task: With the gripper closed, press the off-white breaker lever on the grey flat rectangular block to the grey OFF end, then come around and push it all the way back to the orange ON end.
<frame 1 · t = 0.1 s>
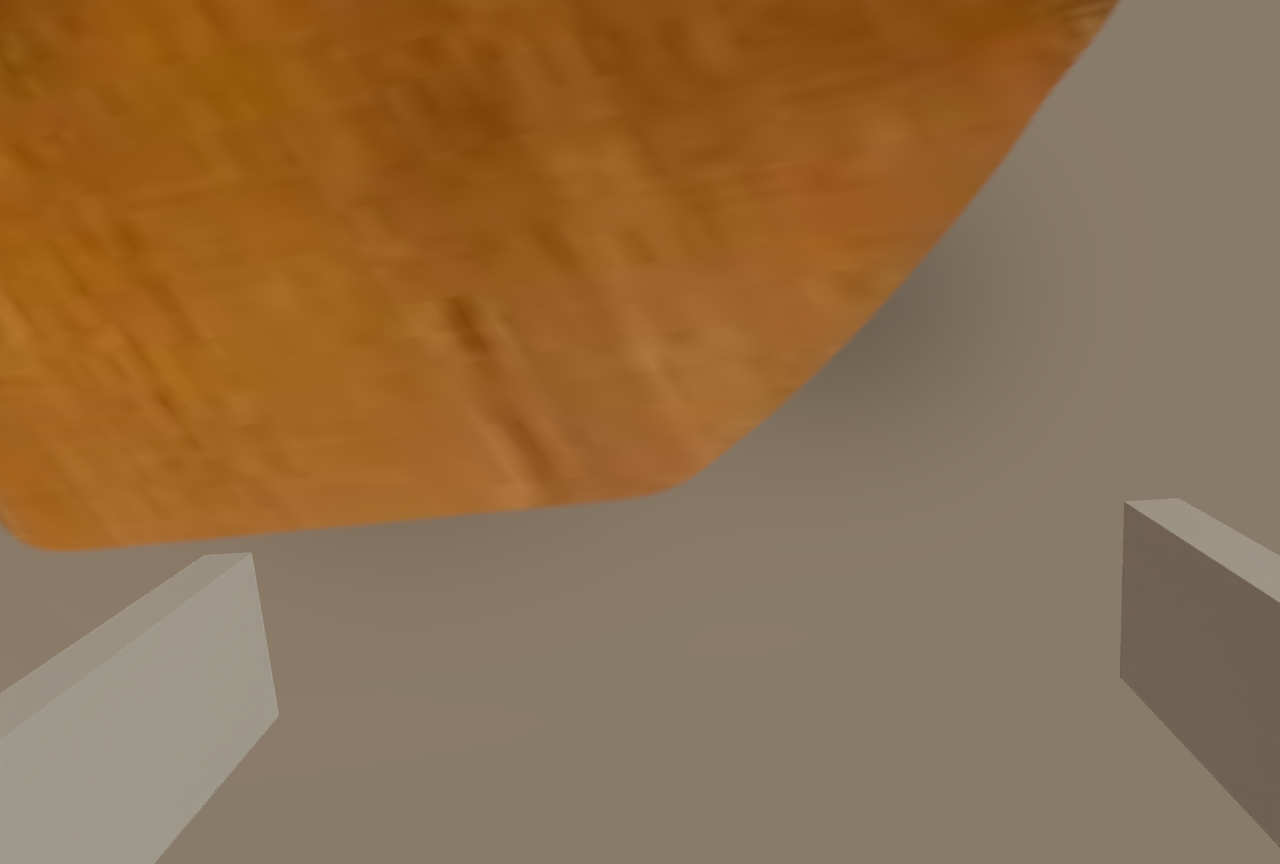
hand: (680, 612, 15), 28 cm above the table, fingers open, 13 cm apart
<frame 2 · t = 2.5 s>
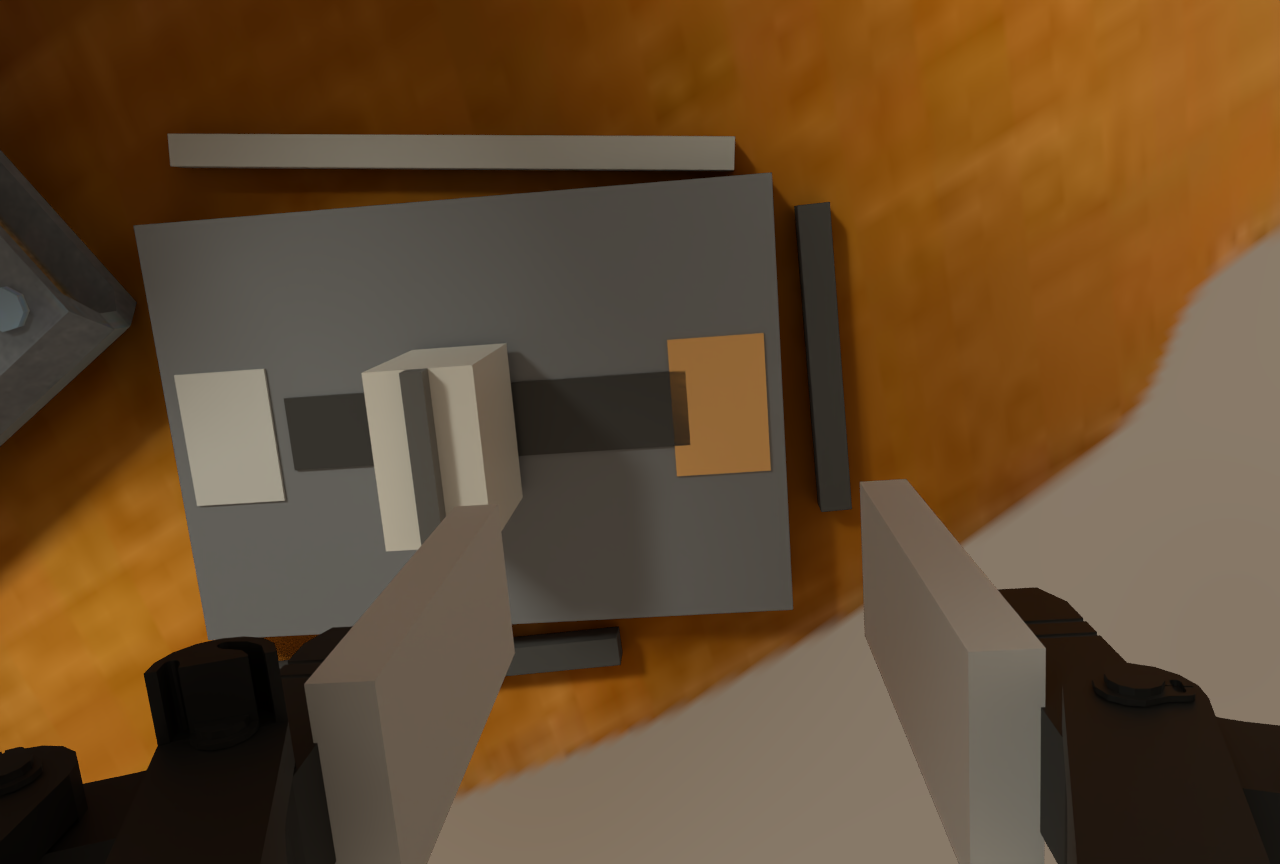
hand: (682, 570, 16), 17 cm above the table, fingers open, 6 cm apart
dark grey bar: (430, 658, 36), on the table
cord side: (821, 357, 32), on the table
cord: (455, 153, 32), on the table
breaker lever: (447, 443, 28), point 5 cm above the table, slide at 0.0 cm
grey flat rectangular block: (484, 410, 33), on the table
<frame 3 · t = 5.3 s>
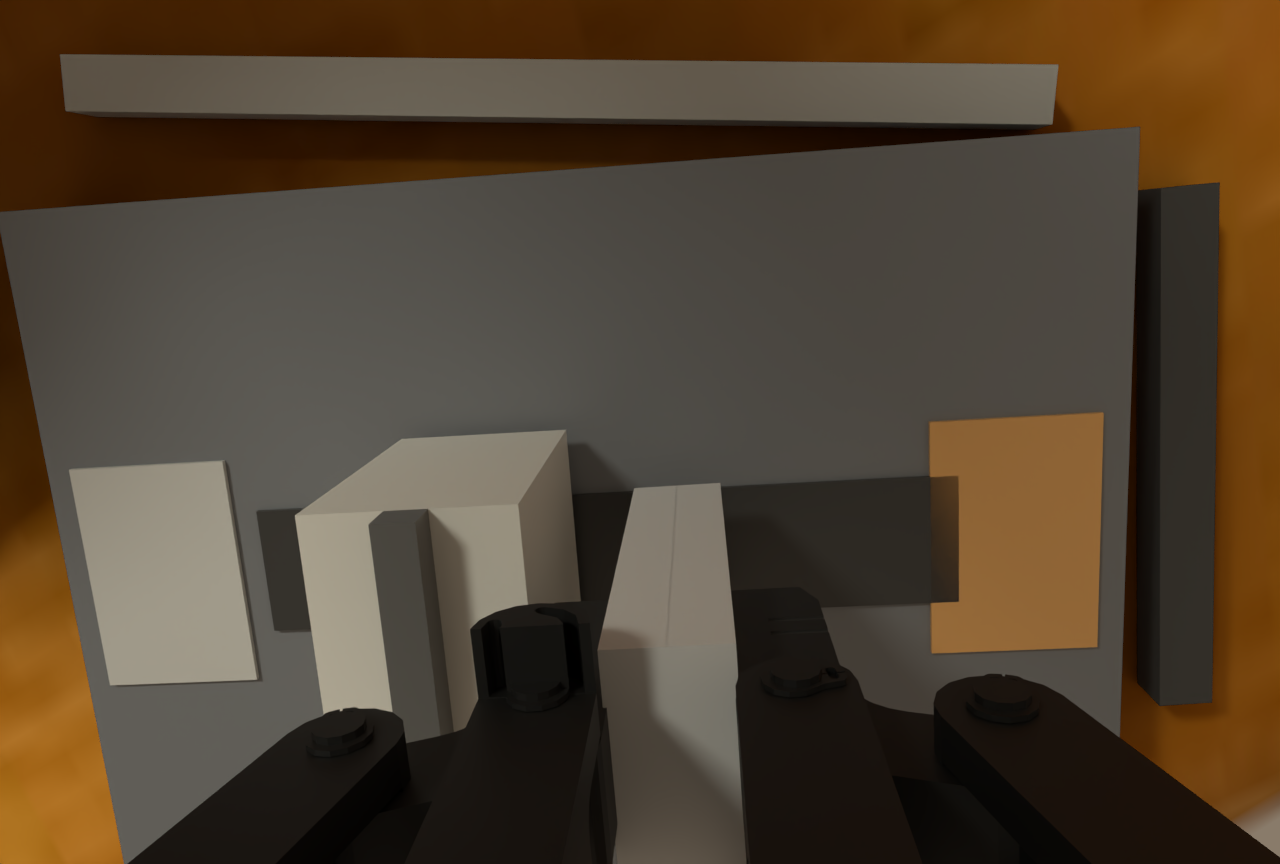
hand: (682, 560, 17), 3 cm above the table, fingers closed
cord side: (1163, 447, 19), on the table
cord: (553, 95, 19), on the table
breaker lever: (462, 624, 15), point 5 cm above the table, slide at -1.5 cm, touching gripper
grey flat rectangular block: (589, 524, 20), on the table
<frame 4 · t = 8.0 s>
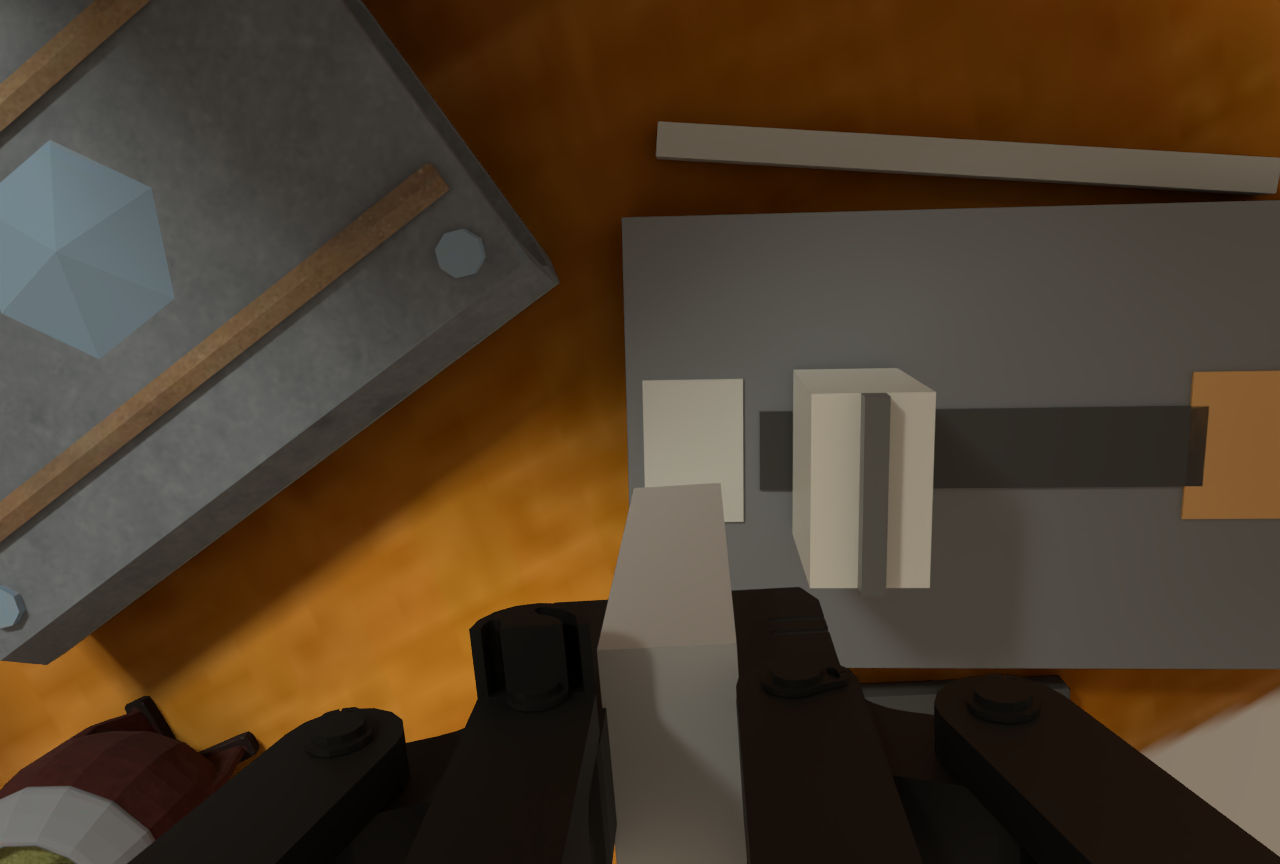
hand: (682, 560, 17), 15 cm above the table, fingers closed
dark grey bar: (845, 698, 33), on the table
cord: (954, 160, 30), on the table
breaker lever: (858, 473, 26), point 5 cm above the table, slide at -3.5 cm
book: (168, 265, 32), on the table
grey flat rectangular block: (945, 435, 31), on the table
mate gourd: (199, 769, 35), on the table
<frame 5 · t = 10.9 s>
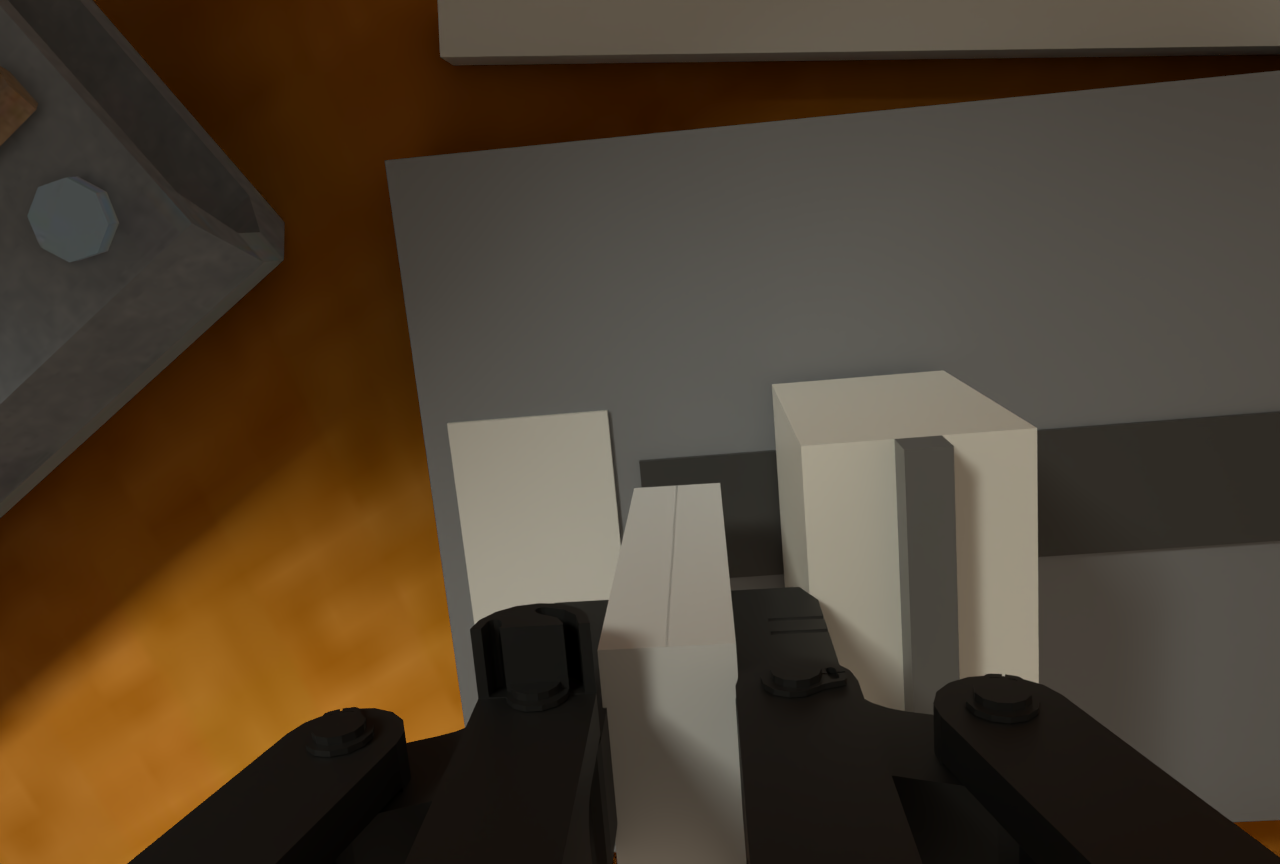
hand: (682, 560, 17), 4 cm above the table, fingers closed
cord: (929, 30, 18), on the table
breaker lever: (892, 563, 15), point 5 cm above the table, slide at -2.0 cm, touching gripper
grey flat rectangular block: (941, 470, 20), on the table
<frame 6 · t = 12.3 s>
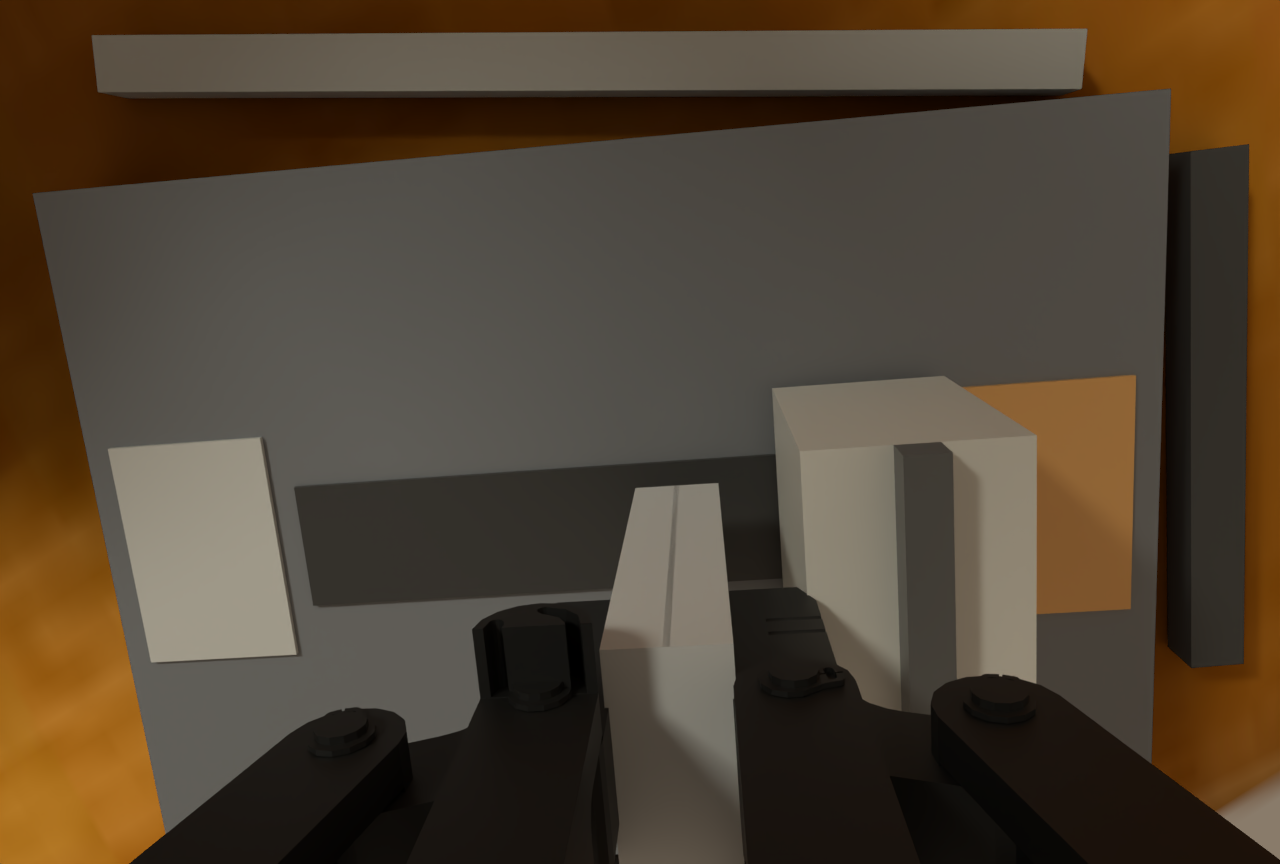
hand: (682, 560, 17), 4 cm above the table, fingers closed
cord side: (1192, 411, 19), on the table
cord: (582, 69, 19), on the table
breaker lever: (891, 569, 15), point 5 cm above the table, slide at 4.6 cm, touching gripper
grey flat rectangular block: (621, 496, 20), on the table
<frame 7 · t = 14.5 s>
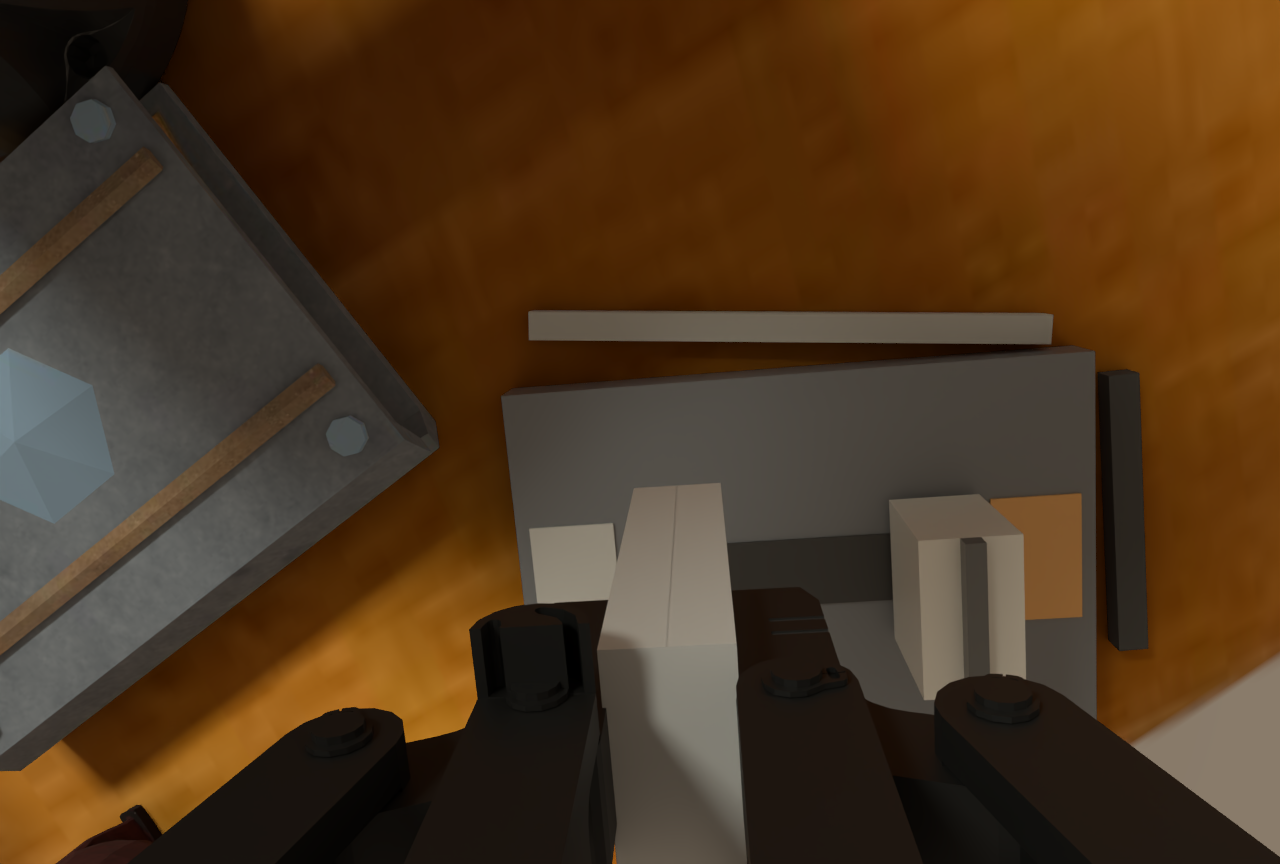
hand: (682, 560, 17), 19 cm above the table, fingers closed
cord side: (1117, 508, 35), on the table
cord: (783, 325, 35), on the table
breaker lever: (955, 594, 31), point 5 cm above the table, slide at 4.5 cm
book: (117, 427, 38), on the table
grey flat rectangular block: (797, 554, 36), on the table
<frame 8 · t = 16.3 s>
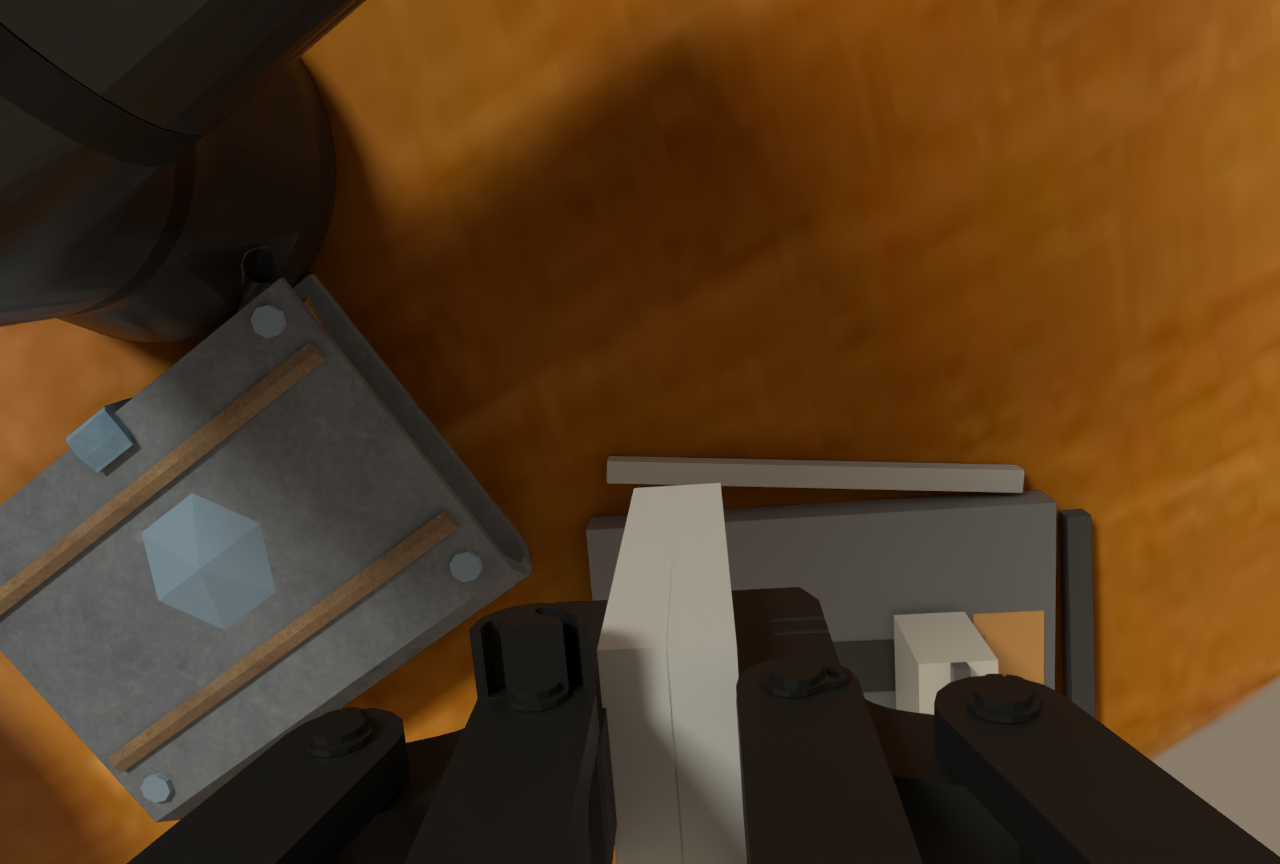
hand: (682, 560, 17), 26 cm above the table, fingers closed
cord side: (1073, 615, 44), on the table
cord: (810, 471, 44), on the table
breaker lever: (945, 696, 40), point 5 cm above the table, slide at 4.5 cm
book: (260, 540, 46), on the table
grey flat rectangular block: (818, 648, 45), on the table
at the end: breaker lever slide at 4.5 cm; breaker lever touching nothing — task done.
